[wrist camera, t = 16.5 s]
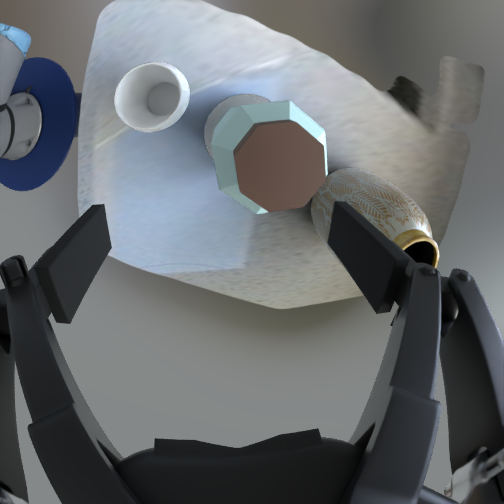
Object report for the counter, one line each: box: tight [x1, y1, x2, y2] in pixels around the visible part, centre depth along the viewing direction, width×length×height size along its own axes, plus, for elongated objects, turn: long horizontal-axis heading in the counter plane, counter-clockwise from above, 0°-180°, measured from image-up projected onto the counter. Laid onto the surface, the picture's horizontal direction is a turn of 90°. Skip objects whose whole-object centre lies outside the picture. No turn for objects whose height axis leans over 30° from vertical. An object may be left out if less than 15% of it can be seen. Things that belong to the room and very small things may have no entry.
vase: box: [311, 168, 439, 269], centre depth 45 cm, size 17×17×27 cm
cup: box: [114, 62, 190, 132], centre depth 36 cm, size 11×11×15 cm
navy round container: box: [204, 94, 271, 160], centre depth 44 cm, size 13×13×9 cm
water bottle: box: [211, 101, 328, 214], centre depth 29 cm, size 10×10×25 cm
